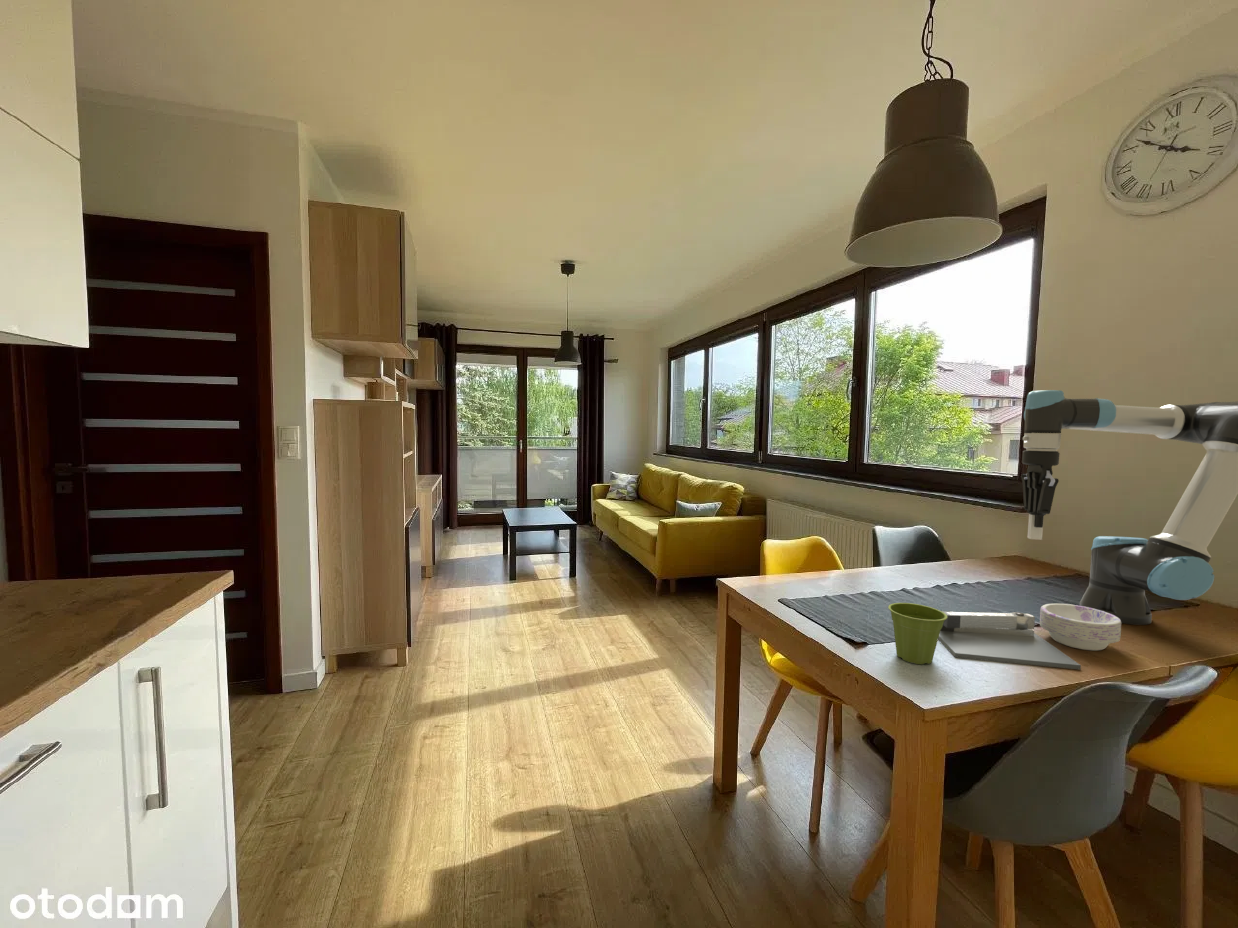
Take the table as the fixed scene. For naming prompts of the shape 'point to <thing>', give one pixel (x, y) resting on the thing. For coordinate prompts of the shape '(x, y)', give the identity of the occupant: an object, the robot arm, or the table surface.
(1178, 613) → the table surface
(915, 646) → the plant pot
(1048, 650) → the board
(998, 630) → the arm
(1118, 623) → the paper bowls
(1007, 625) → the bar
